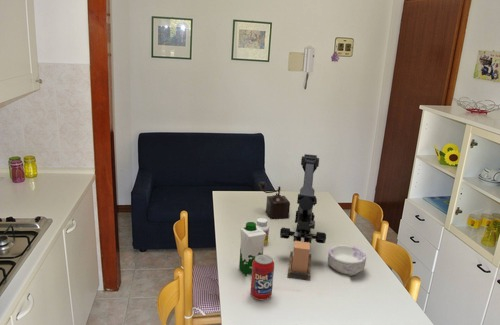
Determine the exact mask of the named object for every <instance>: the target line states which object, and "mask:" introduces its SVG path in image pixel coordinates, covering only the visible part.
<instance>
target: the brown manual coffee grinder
mask: <svg viewBox="0 0 500 325" xmlns="http://www.w3.org/2000/svg"><path fill="white" fill-rule="evenodd" d="M258 186H259V187H260V191H262V192H264V193H265V194H272V193H275V194H274V195H267V196H266V205H265V206H266V208H265V214H266V216H267V217H268V218H269V220H284V219H285V220H286V219H287V220H288V219H289V218H290V208H291V202H290V201H289V199H288V198H287V197H286V195H281V186H277V189H276V190H269V191H266V186H267V182H265V181H260V182H259V183H258Z"/></svg>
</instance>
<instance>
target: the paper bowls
mask: <svg viewBox="0 0 500 325" xmlns="http://www.w3.org/2000/svg"><path fill="white" fill-rule="evenodd" d="M366 255H367V254H366V253H365V252H364V251H363V250H361V249H359V247H356V246H352V245H348V244H347V245H345V244H338V245H334V246H332V247H330V248H329V250H328V255H327V263H328V265H329V266H330V267H331V268H333V270H335V271H336V272H339V273H341V274H345V275H349V277H352V276H354V275H357V274H358V273H359V272H360V273H361V272H362V271H363V270H365V267H366V264H367V263H366V261H367V256H366Z"/></svg>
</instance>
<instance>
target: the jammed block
mask: <svg viewBox="0 0 500 325" xmlns="http://www.w3.org/2000/svg"><path fill="white" fill-rule="evenodd" d="M310 245H311V243H309V242H304V241H302V240H301V241H295V242H294V245H293V251H292V252H293V257H292V265H291V272H298V273H306V274H308V259H309V254H310V249H311V248H310V247H311V246H310Z"/></svg>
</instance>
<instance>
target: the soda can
mask: <svg viewBox="0 0 500 325" xmlns="http://www.w3.org/2000/svg"><path fill="white" fill-rule="evenodd" d="M274 273H275V261H274V258H273V257H272V256H270V255H268V254H263V255H257V256H256V257H255V259H254V260H253V263H252V274H251V277H250V278H251V279H250V295H251V297H253V298H254V299H256V300H259V301H261V300H262V301H264V300H265V301H266V300H268V299H270V298H271V297H272V295H273V285H274Z"/></svg>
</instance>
